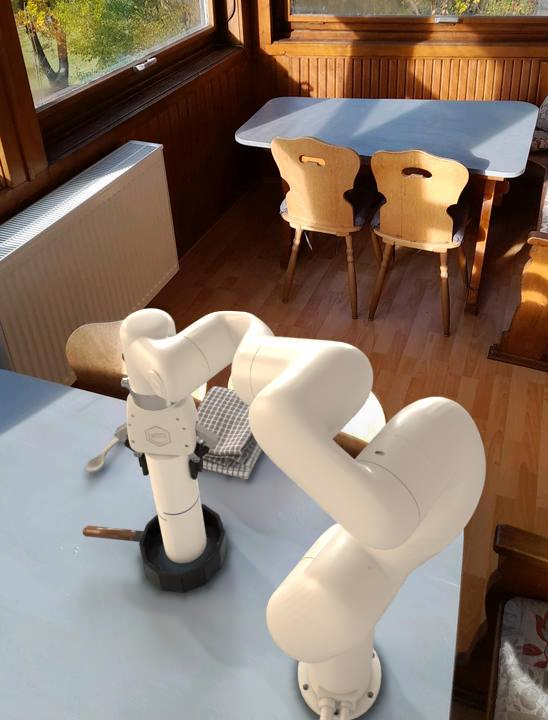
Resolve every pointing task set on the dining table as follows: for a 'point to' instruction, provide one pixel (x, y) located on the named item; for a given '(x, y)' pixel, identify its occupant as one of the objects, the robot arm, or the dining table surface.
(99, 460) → the spoon
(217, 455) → the towel
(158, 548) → the pan
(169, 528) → the cylindrical container
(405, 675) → the dining table surface
